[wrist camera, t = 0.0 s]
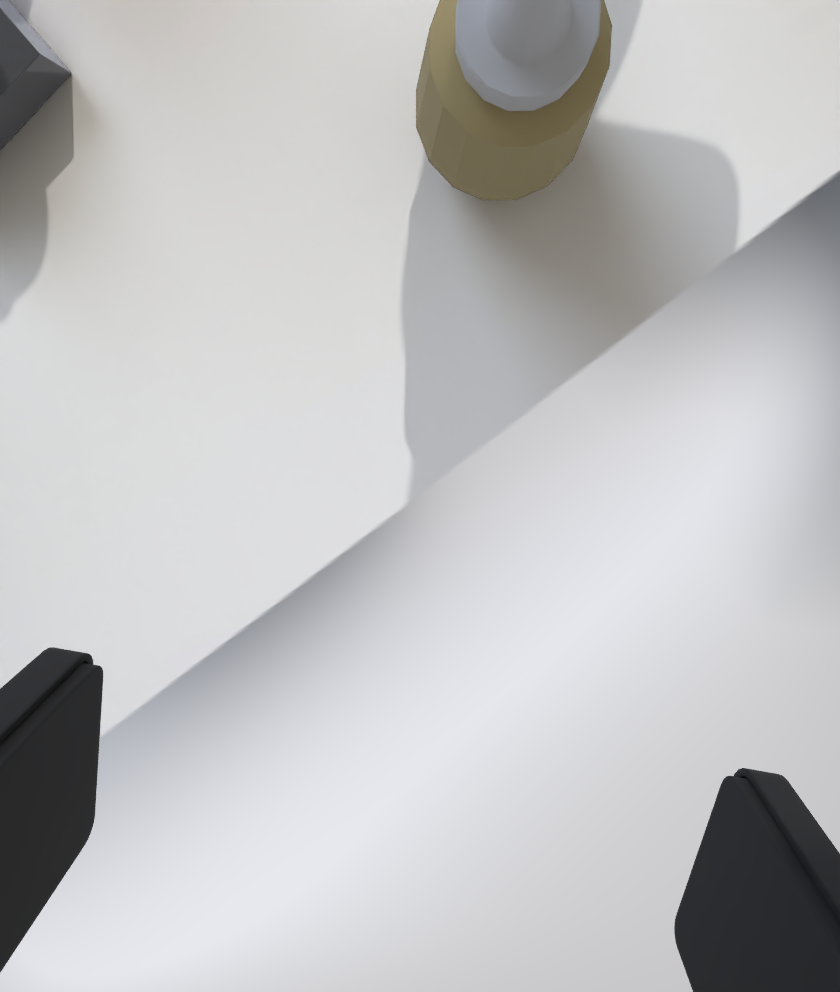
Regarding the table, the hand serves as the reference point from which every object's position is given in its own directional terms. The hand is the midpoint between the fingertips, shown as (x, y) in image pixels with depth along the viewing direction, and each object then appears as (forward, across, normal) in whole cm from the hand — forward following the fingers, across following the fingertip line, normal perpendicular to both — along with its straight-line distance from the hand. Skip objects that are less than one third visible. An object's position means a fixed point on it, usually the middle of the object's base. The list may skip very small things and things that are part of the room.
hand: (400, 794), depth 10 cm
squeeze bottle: (+31, 0, -16) cm, 35 cm away
